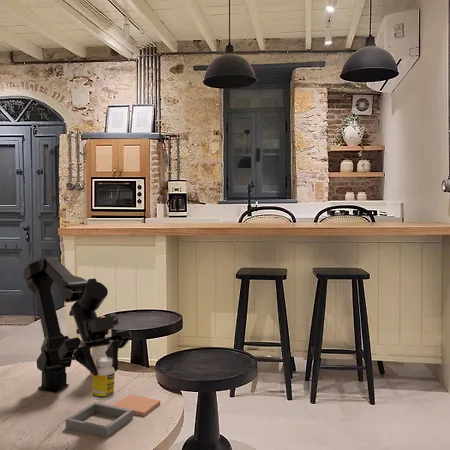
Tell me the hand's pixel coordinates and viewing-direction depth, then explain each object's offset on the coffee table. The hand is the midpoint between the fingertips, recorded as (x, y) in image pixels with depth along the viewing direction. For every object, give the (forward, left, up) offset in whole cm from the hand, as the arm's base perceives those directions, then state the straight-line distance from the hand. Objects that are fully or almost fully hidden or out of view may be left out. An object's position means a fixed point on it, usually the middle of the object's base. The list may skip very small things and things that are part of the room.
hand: (106, 372), depth 133 cm
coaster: (+2, +13, -13) cm, 18 cm away
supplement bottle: (-1, +1, -7) cm, 7 cm away
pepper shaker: (-21, +30, -13) cm, 39 cm away
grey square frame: (-1, 0, -13) cm, 13 cm away
